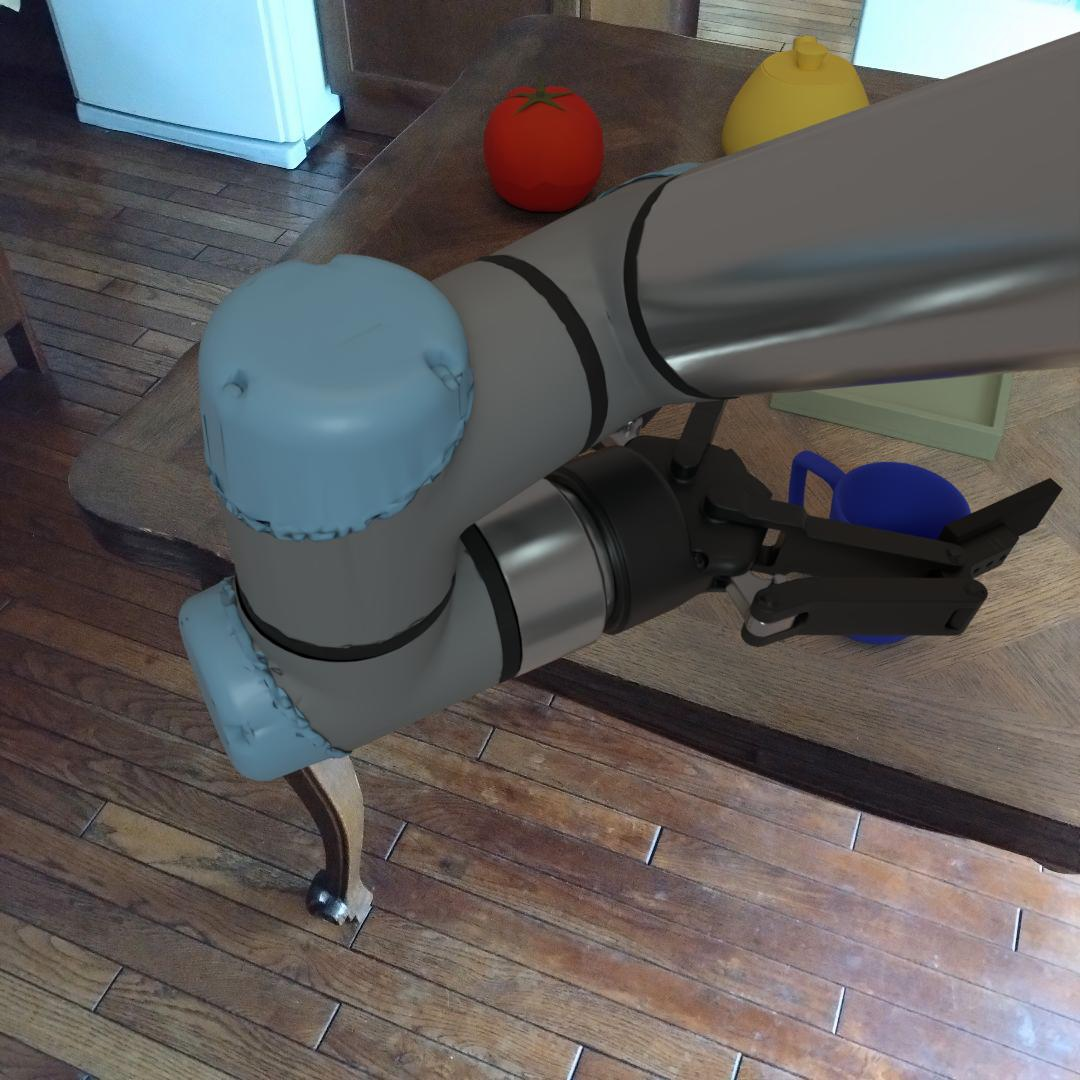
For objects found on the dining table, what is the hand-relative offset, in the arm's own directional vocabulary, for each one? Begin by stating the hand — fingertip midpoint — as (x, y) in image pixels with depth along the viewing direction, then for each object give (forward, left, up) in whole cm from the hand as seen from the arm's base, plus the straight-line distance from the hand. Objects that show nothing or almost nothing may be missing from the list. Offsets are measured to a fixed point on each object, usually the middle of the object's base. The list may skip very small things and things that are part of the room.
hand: (941, 409), depth 52 cm
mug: (+7, +2, -22) cm, 23 cm away
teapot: (+67, +20, -22) cm, 73 cm away
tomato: (+50, +42, -22) cm, 69 cm away
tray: (+36, +3, -22) cm, 42 cm away
